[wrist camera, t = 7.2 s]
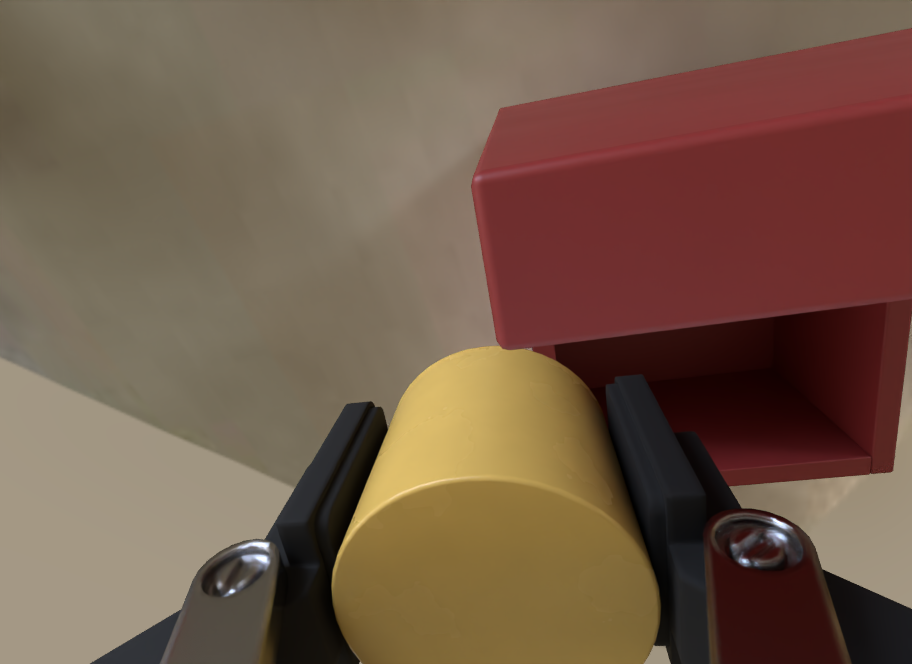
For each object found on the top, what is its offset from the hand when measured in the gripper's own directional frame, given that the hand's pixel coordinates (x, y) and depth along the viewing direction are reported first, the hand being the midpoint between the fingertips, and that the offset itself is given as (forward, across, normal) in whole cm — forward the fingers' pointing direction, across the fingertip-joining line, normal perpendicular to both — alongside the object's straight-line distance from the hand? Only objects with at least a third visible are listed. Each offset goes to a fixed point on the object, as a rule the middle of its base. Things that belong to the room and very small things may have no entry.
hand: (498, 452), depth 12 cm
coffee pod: (0, 0, 0) cm, 0 cm away
